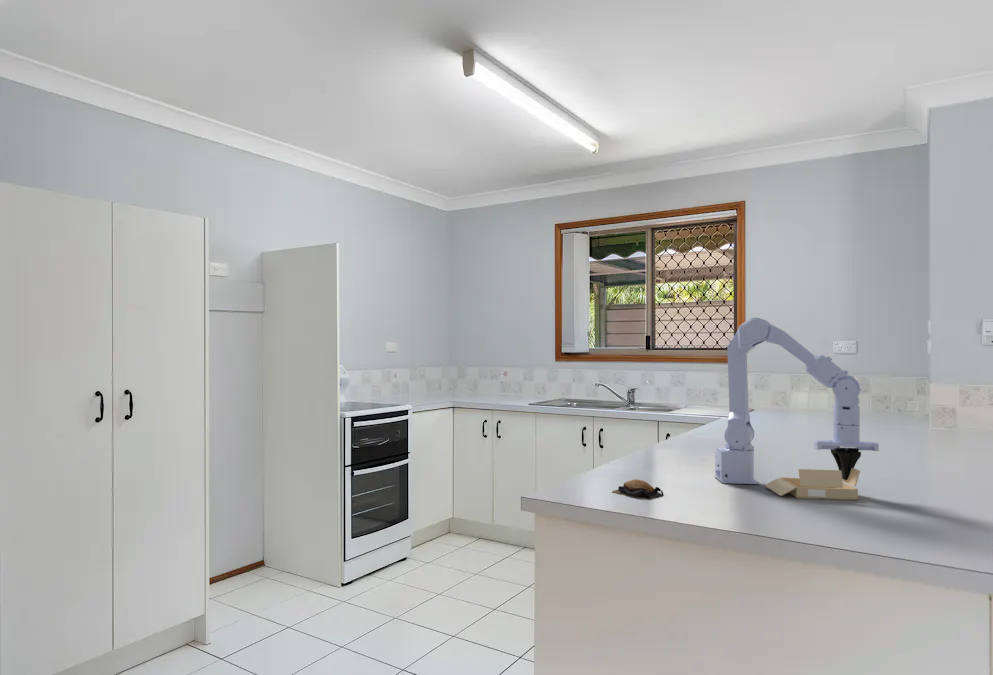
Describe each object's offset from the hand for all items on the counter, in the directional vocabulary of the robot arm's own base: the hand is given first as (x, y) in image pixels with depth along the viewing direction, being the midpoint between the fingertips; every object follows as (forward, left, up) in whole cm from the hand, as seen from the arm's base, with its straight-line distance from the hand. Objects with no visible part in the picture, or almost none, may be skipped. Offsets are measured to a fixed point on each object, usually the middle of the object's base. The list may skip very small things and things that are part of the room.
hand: (845, 479), depth 152 cm
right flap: (0, -1, +1) cm, 2 cm away
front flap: (-9, -6, +1) cm, 10 cm away
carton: (-9, +1, -4) cm, 10 cm away
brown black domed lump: (-52, -7, -4) cm, 53 cm away
